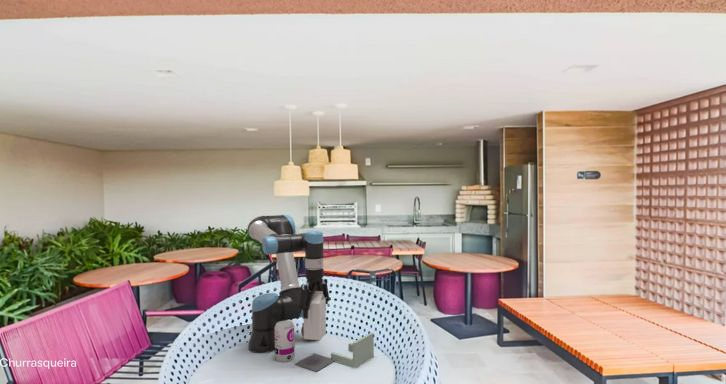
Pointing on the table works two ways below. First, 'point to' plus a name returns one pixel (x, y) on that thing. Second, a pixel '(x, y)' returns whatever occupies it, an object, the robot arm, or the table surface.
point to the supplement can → (284, 341)
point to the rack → (357, 352)
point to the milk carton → (316, 317)
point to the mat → (315, 362)
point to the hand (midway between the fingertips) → (315, 322)
